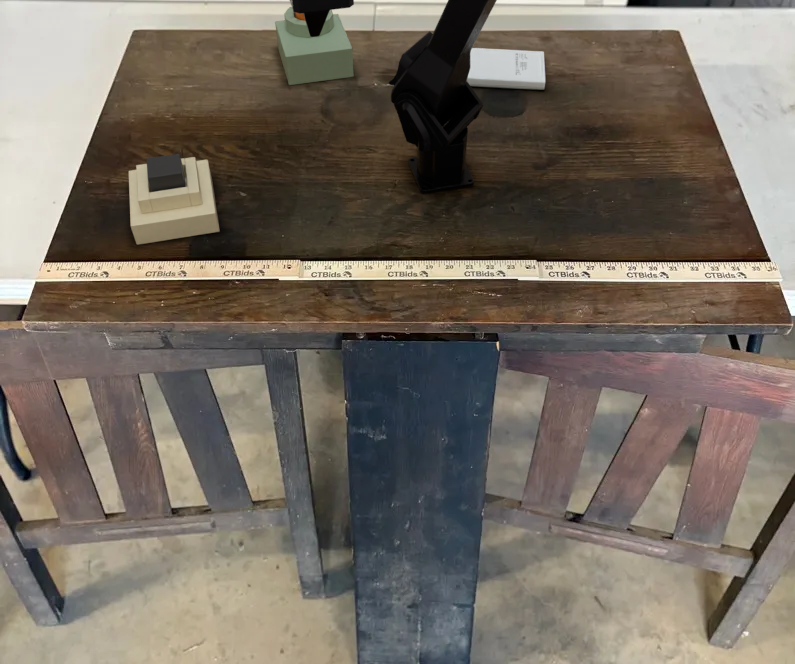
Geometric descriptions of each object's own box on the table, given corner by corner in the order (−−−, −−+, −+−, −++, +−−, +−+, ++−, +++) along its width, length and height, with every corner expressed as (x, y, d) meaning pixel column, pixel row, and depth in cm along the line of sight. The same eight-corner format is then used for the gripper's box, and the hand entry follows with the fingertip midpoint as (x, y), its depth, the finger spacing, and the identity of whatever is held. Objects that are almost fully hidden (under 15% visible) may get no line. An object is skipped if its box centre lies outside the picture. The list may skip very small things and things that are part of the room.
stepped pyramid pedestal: (219, 231, 88) (212, 199, 85) (136, 245, 87) (126, 213, 83) (211, 177, 95) (204, 145, 91) (134, 189, 93) (124, 157, 90)
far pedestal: (353, 76, 110) (351, 35, 105) (288, 85, 108) (284, 44, 104) (338, 39, 117) (336, -2, 112) (277, 46, 115) (272, 6, 111)
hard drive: (454, 56, 113) (542, 60, 112) (451, 87, 108) (544, 91, 107) (455, 45, 112) (544, 49, 111) (452, 76, 107) (545, 80, 106)
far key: (324, 20, 109) (322, 3, 107) (297, 23, 108) (296, 6, 106) (319, 8, 111) (318, -9, 109) (293, 11, 110) (292, -6, 109)
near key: (185, 188, 87) (181, 172, 85) (151, 193, 86) (147, 177, 85) (183, 168, 89) (179, 153, 88) (150, 173, 88) (146, 158, 87)
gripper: (212, -138, 84) (234, 6, 96) (230, -68, 72) (254, 87, 84) (316, -147, 86) (326, -5, 98) (351, -80, 74) (357, 73, 86)
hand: (314, 35), depth 91 cm, fingers closed
